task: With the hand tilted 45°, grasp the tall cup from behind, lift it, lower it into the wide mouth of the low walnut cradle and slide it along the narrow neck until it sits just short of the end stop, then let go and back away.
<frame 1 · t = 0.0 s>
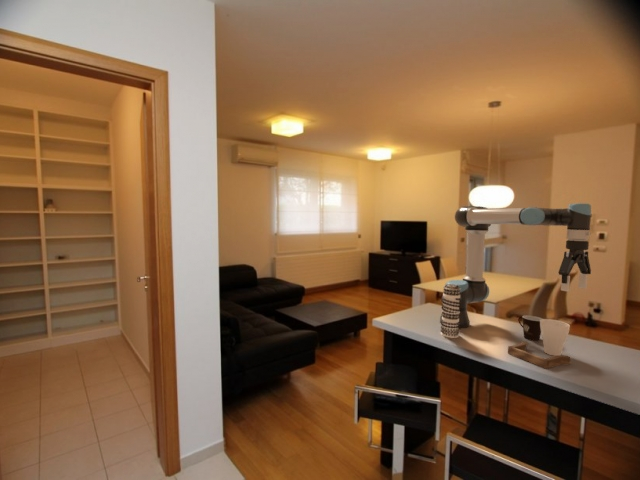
hand: (573, 289, 137), 28 cm above the bar counter, tool pointing down, fingers open, 13 cm apart
cup: (552, 353, 139), on the bar counter
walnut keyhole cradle: (535, 357, 134), on the bar counter
coffee mug: (530, 337, 158), on the bar counter
decorative candle: (449, 335, 159), on the bar counter
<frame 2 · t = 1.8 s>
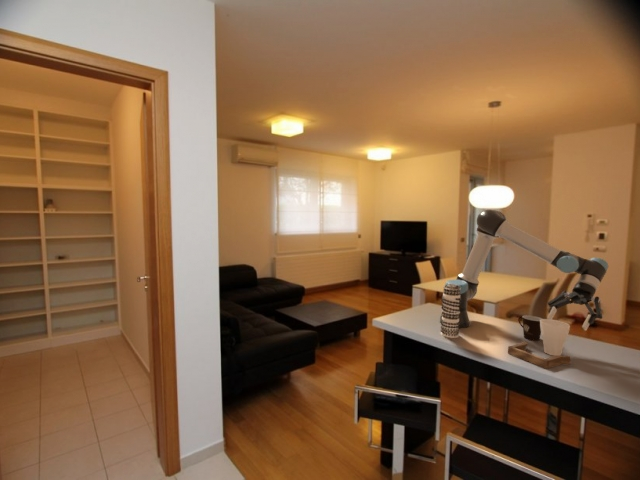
hand: (565, 323, 140), 12 cm above the bar counter, tool tilted 45°, fingers open, 13 cm apart
nothing on the bar counter moved.
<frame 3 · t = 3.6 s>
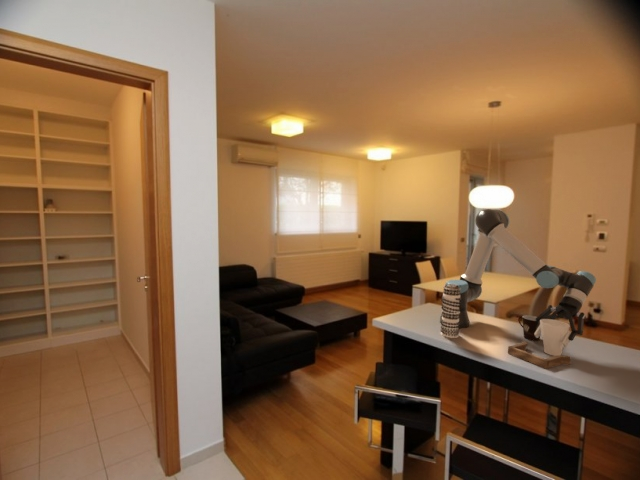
hand: (549, 340, 137), 6 cm above the bar counter, tool tilted 45°, fingers closed on cup, 10 cm apart
cup: (552, 353, 139), on the bar counter, touching gripper
everything else where it was.
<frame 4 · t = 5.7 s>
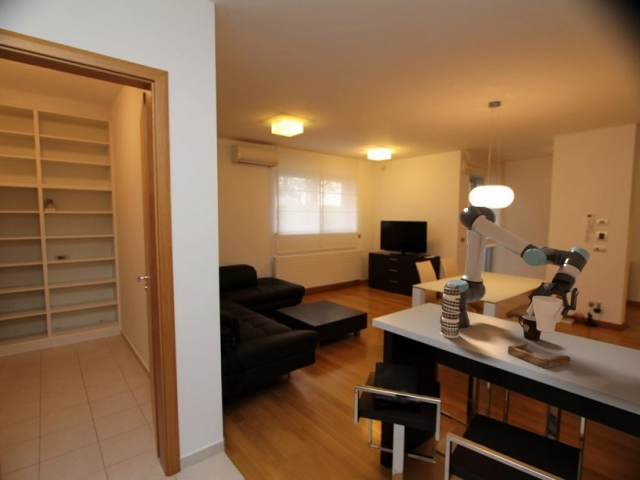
hand: (542, 317, 133), 17 cm above the bar counter, tool tilted 45°, fingers closed on cup, 10 cm apart
cup: (545, 330, 135), point 11 cm above the bar counter, touching gripper
everything else where it was.
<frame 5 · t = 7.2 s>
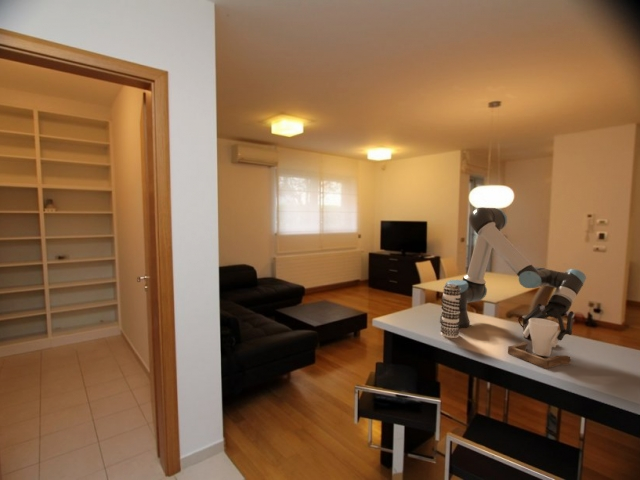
hand: (538, 340, 133), 7 cm above the bar counter, tool tilted 45°, fingers closed on cup, 10 cm apart
cup: (541, 353, 135), point 1 cm above the bar counter, touching gripper
everything else where it was.
when the fingers open (7 cm above the bar counter, at t = 8.1 s): cup drops 1 cm, on the bar counter.
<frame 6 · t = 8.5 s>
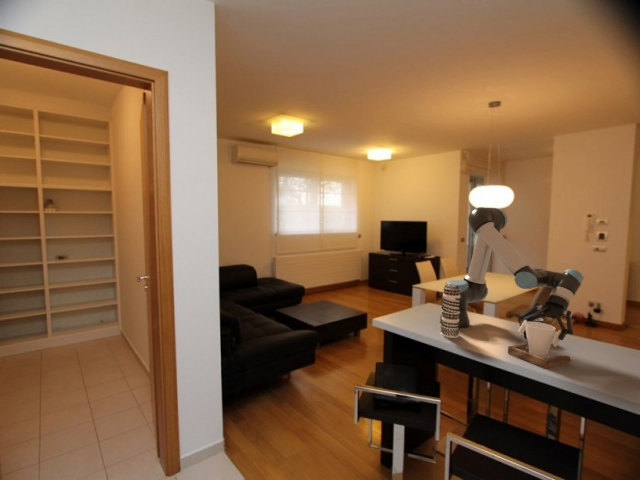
hand: (535, 339, 133), 8 cm above the bar counter, tool tilted 45°, fingers open, 13 cm apart
cup: (537, 357, 135), on the bar counter
everything else where it was.
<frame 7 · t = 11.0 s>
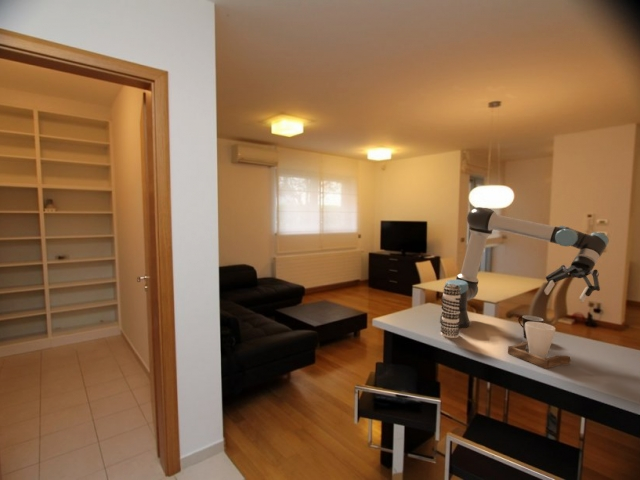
hand: (562, 296, 139), 25 cm above the bar counter, tool tilted 45°, fingers open, 13 cm apart
nothing on the bar counter moved.
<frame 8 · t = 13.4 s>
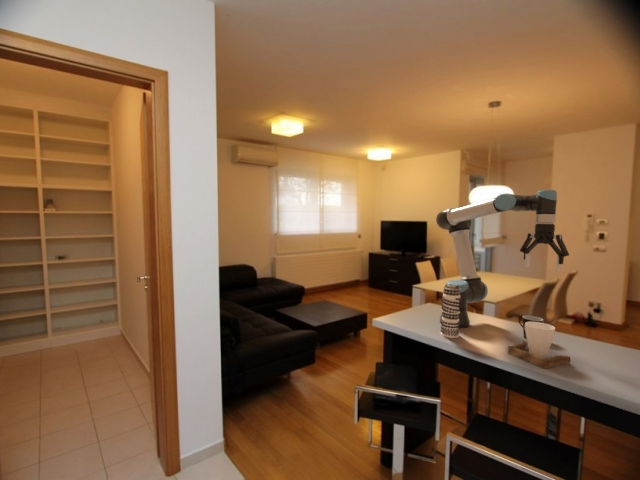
hand: (541, 269, 150), 35 cm above the bar counter, tool pointing down, fingers open, 13 cm apart
nothing on the bar counter moved.
at the end: cup inside the target area (0.4 cm from its centre), on the bar counter; cup tilted 0°; the gripper is holding nothing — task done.
